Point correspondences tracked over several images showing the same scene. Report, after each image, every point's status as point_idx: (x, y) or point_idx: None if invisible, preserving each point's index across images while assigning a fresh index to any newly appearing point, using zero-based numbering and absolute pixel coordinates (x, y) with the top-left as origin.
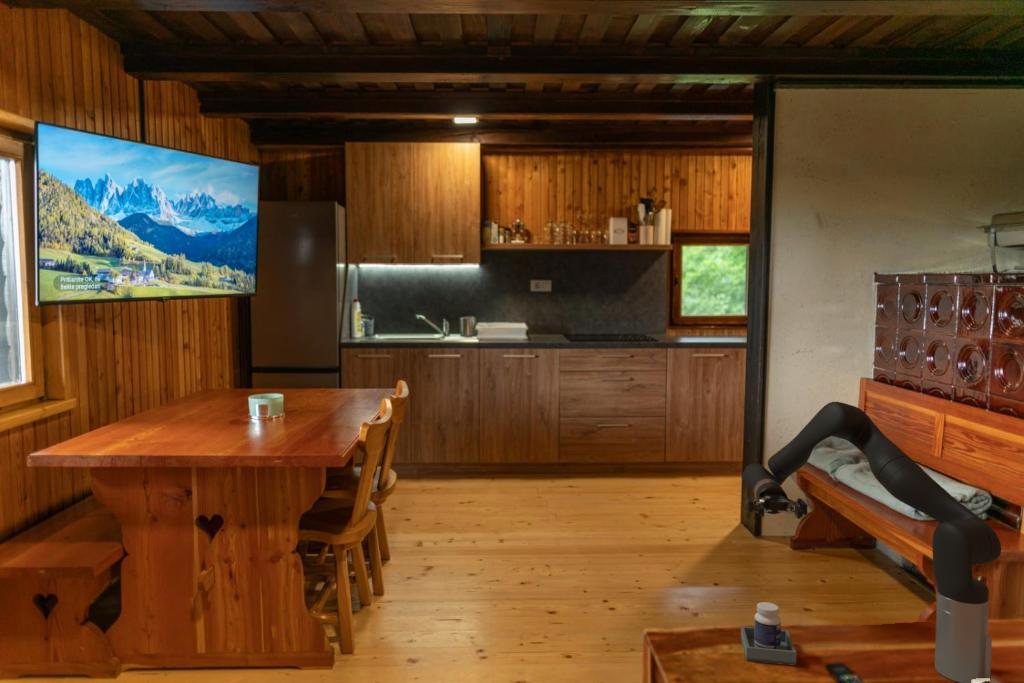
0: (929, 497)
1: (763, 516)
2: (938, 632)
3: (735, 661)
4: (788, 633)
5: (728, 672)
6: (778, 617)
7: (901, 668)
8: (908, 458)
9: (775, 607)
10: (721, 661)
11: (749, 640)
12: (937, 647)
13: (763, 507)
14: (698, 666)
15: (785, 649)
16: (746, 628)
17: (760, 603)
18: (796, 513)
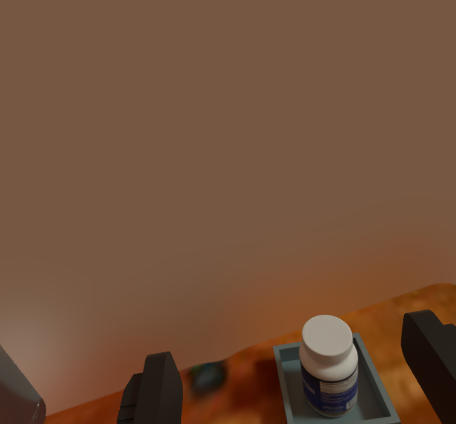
0: None
1: (405, 350)
2: (8, 377)
3: (375, 341)
4: (287, 421)
5: (374, 309)
6: (303, 346)
7: (99, 415)
8: None
9: (309, 333)
10: (397, 333)
11: (373, 417)
12: (23, 397)
13: (420, 327)
14: (424, 308)
15: (294, 402)
16: (385, 418)
17: (345, 342)
18: (172, 418)
